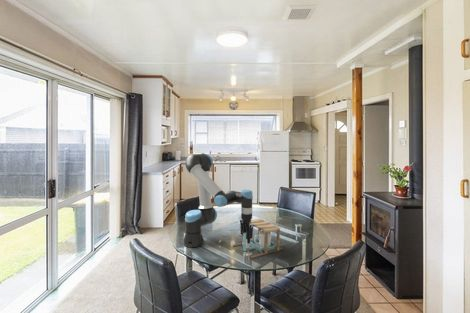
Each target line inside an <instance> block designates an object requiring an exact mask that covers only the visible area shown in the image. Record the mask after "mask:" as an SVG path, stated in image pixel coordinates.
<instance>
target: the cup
mask: <svg viewBox="0 0 470 313" xmlns="http://www.w3.org/2000/svg"><path fill="white" fill-rule="evenodd" d="M258 236H259V241H258V242H256V238H258ZM253 237H254V238H253V239H254V244H256V245H257V246H259V247H261V248H262V249H264V240H265V232H264V231H262V230H261V231H260V232H259V234H258V233H257V234H255V235H254V236H253ZM271 239H272V231H271V232H268V247H271Z"/></svg>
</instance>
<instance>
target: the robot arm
mask: <svg viewBox="0 0 470 313" xmlns="http://www.w3.org/2000/svg"><path fill="white" fill-rule="evenodd" d="M213 164H214V161H213V158H212V156H211V155H209V154H207V153H198V154H190V155H189V156H187V158H186V159H185V164H184V166H185V168H186V170H187V172H188V173H189V174H190V175H191V176H194V177H195V179H196V180H197V184H198V195H199V196H198V197H199V206H198V208H197V209H192V210H191V209H190V210H188V211H187V212H186V213H185V216H184V217H185V218H184V221H185V222H184V223H185V231H184V232H185V233H184V237H183V239H182V245H183V246H184V247H186V248H198V247H201V246H203V245H204V243H205V239H204V235H203V233H202V229H203V228H202V227H205V226H207V225H211V224H213V223H215V221H216V220H217V217H218V213H217V210H216V208H215V207H214V206H213V204H212V198H213V199H214V200H213V201H214V202H213V203H214V205H215V206H216V207H218V208H222V207H226V206H228V205H231V204H240V206H241V208H240V210H241V212H240V220H239V223H240V224H239V225H240V229H239V230H240V235H241V236H242V237H243V233H245V232H246V234H247V238H246V248H249V247H251V246H250V239H253V237H254V236H253V234H254V233H253V232H254V225H252V224H251V220H253V198H254V196H253V190H251V189H242V190H241V191H235V190H228V191H227V192H226V193H225V191H223V190H222V188H221V186H219V185H218V184H217V183H216V182H215V181H214V179H213V178H211V176H210V172H211V168H212V167H213ZM211 197H212V198H211Z"/></svg>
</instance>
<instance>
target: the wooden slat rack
mask: <svg viewBox="0 0 470 313" xmlns="http://www.w3.org/2000/svg"><path fill="white" fill-rule="evenodd" d="M251 224H252V225H254V226H253V228H257V234H259V232H260V231H264V232H265V240H264V248H263V249H264V253H261V252H260V253H257V254H254V255H250V256H251V258H250V259H254V258H257V257H261V256H264V255H268V254H271V253H274V252H278V251H282V250H284V246H281V247H279V242H281V241H280V239H281V238H280V236H281V235H280V234H281V227H280V226H277V225H275V224H273V223H271V222H268V221H266V220H264V219H262V218H255V219H251ZM275 231H276V238H275V239H276V249H274V250H271V251H267V249H268V232H271V233H272V232H275ZM257 238H259V236H257ZM241 245H242V246H243V241H242V242H239V243H235V244H232V247H238V246H239V247H240V246H241Z"/></svg>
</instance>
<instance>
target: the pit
mask: <svg viewBox="0 0 470 313" xmlns="http://www.w3.org/2000/svg"><path fill="white" fill-rule="evenodd" d="M271 241H272V242H274V243H275V244H276V238H271ZM284 246H287V244H286V243H284V242H281V241H280V242H279V248H281V247H284Z"/></svg>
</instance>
